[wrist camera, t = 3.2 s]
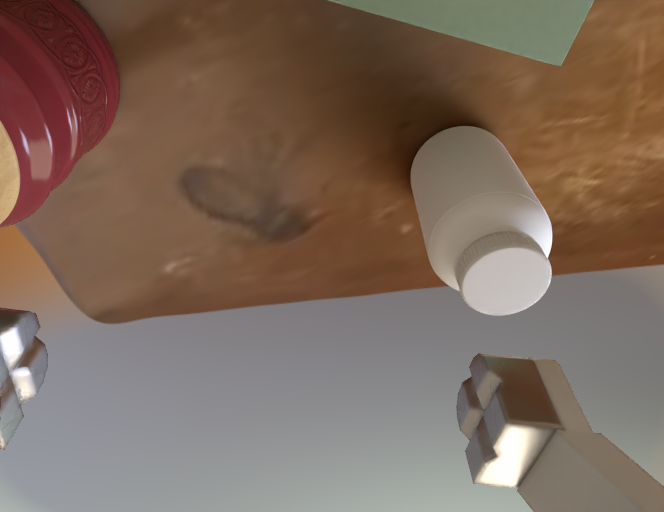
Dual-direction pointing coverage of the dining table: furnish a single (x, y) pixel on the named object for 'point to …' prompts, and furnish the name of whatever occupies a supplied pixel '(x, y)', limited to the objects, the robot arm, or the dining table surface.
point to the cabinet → (493, 22)
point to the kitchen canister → (49, 98)
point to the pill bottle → (481, 221)
